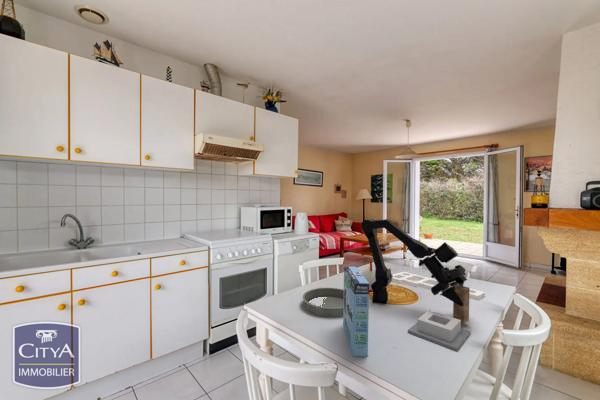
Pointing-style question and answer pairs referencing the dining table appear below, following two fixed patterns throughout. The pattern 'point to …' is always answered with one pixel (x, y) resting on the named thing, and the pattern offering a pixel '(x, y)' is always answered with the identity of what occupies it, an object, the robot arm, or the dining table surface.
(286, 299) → the dining table surface
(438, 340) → the socket board
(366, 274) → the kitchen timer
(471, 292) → the holder
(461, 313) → the walnut peg
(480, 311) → the dining table surface
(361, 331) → the gum box
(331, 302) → the cake pan
